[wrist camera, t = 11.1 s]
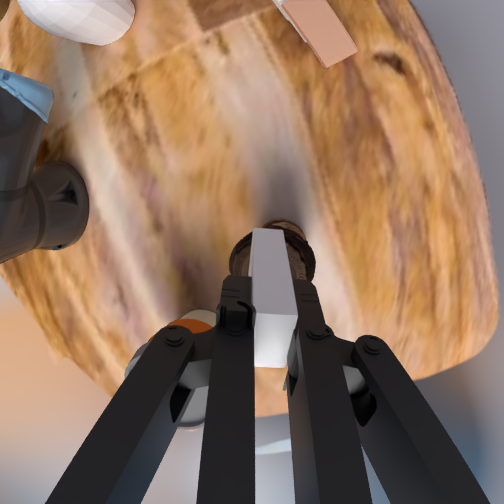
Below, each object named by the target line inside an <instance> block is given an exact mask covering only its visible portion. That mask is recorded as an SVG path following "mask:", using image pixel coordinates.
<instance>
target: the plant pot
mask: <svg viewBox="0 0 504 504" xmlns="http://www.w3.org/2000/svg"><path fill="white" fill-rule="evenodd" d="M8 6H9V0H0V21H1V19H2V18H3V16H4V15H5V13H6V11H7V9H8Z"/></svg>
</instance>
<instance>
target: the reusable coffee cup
mask: <svg viewBox="0 0 504 504" xmlns="http://www.w3.org/2000/svg"><path fill="white" fill-rule="evenodd" d="M215 324H216V314H215V313H213V312H211V311H208V310H194V311H190V312H189V313H187V314H185V315H184V316H183V317H182V318H180V319H179V320H175V321H173V322H171V323H169V324H168V325H167V326H171V325H179V326H183V327H186V328H188V329H189V330H190V331H191V332H192V333H193V334H194V333H201V332H205V331H207V330H210V329H211V328H213V327H214V326H215ZM165 327H166V326H165ZM155 335H156V334H155ZM155 335H154V336H155ZM154 336H153V337H152V338H150V339H149V341H148V342H147V343H146V344H144V345H142V346H141V347H140V348H139V349H138V350H137V351H136V353H135V355H134V356H133V358H132V359H131V361H130V362H129V364H128V366H127V368H126V371H125V379H126V377H127V376H128V374H129V373H130V371H131V370H132V368H133V367H134V365H135V364H136V362H137V361H138V359H139V358H140V356H141V355H142V354H143V352H144V351H145V349H146V348H147V346H148V345H149V343H150V342H151V341H152V339H153V338H154ZM207 395H208V386H206V387H200V388H196V390H195V392H194V394H193V396H192V399H191V401H190V403H189V405H188V407H187V409H186V411H185V413H184V415H183V417H182V419H181V421H180V423H179V426H178V429H187V430H188V429H197V428H200V427H203V426H204V422H205V413H206V404H207Z"/></svg>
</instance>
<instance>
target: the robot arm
mask: <svg viewBox="0 0 504 504" xmlns="http://www.w3.org/2000/svg"><path fill="white" fill-rule="evenodd" d="M53 100H54V94H53V90H52V89H51V88H50V87H49V86H47V85H45V84H43V83H40V82H37V81H35V80H32V79H29V78H27V77H24V76H21V75H18V74H16V73H13V72H10V71H7V70H4V69H1V68H0V264H1V263H3V262H5V261H8V260H10V259H12V258H14V257H17V256H19V255H21V254H23V253H26V252H28V251H30V250H33V249H43V250H61V249H64V248H66V247H69V246H71V245H73V244H74V243H76V242H77V241H78V240H79V239H80V237H81V236H82V234H83V232H84V230H85V228H86V225H87V221H88V213H89V203H88V195H87V191H86V187H85V185H84V182H83V180H82V178H81V176H80V175H79V173H78V172H77V171H76V170H75V169H74V168H73V167H72V166H71V165H69V164H68V163H66V162H63V161H51V162H45V163H42V164H40V165H39V166H37V167H36V168H34V164H35V160H36V156H37V152H38V149H39V145H40V142H41V138H42V135H43V132H44V128H45V125H46V124H48V121H49V120H48V116H49V113H50V110H51V107H52V103H53ZM33 168H34V169H33ZM287 361H288V372H287V375H286V379H285V383H284V386H283V390H284V391H286V387H287V396H288V408H289V420H290V434H291V447H292V461H293V474H294V490H295V504H372V498H371V493H370V488H369V482H368V477H367V472H366V467H365V462H364V457H363V453H362V448H361V445H362V447H363V449H364V451H365V452H366V455H367V456H368V458H369V461H370V463H371V465H372V466H373V468H374V471H375V473H376V475H377V477H378V479H379V481H380V483H381V485H382V487H383V489H384V491H385V492H386V495H387V497H388V499H389V501H390V503H391V504H490V502H489V501H488V499H487V497H486V495H485V494H484V492H483V490H482V488H481V487H480V485H479V483H478V482H477V480H476V478H475V477H474V475H473V473H472V472H471V470H470V468H469V467H468V465H467V464H466V462H465V460H464V459H463V457H462V455H461V454H460V452H459V451H458V449H457V447H456V446H455V444H454V443H453V441H452V439H451V438H450V436H449V435H448V433H447V432H446V430H445V429H444V427H443V426H442V424H441V423H440V421H439V419H438V418H437V416H436V415H435V413H434V412H433V410H432V409H431V407H430V406H429V404H428V403H427V401H426V400H425V398H424V397H423V395H422V394H421V392H420V391H419V389H418V388H417V386H416V385H415V384H414V382H413V381H412V379H411V378H410V376H409V375H408V373H407V372H406V371H405V369H404V368H403V366H402V365H401V363H400V362H399V361H398V359H397V358H396V356H395V355H394V353H393V352H392V351H391V349H390V348H389V346H388V345H387V344H386V343H385V342H384V341H383V340H382V339H380V338H378V337H376V336H372V335H363V336H361V337H359V338H358V339H357V340H356V342H351V341H347V340H343V339H341V338H338V337H336V336H335V335H334V333H333V331H332V329H331V328H330V327H329V326H328V325H326V324H325V320H324V316H323V312H322V309H321V305H320V303H319V297H318V294H317V290H316V287H315V286H314V285H313V284H312V282H311V281H310V280H302V279H292V277H291V272H290V266H289V260H288V255H287V250H286V244H285V239H284V234H283V230H276V229H265V228H253V235H252V245H251V254H250V264H249V276H238V275H228V276H227V277H226V278H225V280H224V281H223V285H222V292H221V300H220V304H218V306H217V309H216V324H215V326H214V327H213V328H211V329H210V330H207V331H205V332H201V333H194V334H193V333H192V332H191V331H190V330H189V329H188V328H186V327H183V326H179V325H171V326H166V327H164V328H162V329H160V330H159V331H158V332H157V333H156V335H155V336H154V338H153V339H152V341H151V342H150V343H149V345H148V346H147V348H146V349H145V351H144V352H143V354H142V355H141V356H140V358H139V359H138V361H137V362H136V364H135V365H134V367H133V368H132V370H131V371H130V373H129V374H128V376H127V377H126V379H125V380H124V381H123V383H122V384H121V386H120V387H119V389H118V390H117V392H116V393H115V395H114V396H113V398H112V399H111V401H110V403H109V404H108V405H107V407H106V409H105V410H104V411H103V413H102V415H101V416H100V418H99V419H98V421H97V422H96V424H95V425H94V427H93V428H92V430H91V431H90V433H89V435H88V436H87V437H86V439H85V441H84V442H83V444H82V445H81V447H80V448H79V450H78V451H77V453H76V455H75V456H74V458H73V459H72V461H71V463H70V464H69V466H68V467H67V469H66V471H65V472H64V474H63V475H62V477H61V478H60V480H59V482H58V483H57V485H56V487H55V488H54V490H53V491H52V493H51V495H50V496H49V498H48V500H47V501H46V503H45V504H141V502H142V500H143V498H144V496H145V494H146V492H147V489H148V487H149V485H150V483H151V481H152V479H153V477H154V475H155V473H156V471H157V469H158V467H159V465H160V463H161V461H162V459H163V457H164V455H165V452H166V450H167V448H168V446H169V444H170V442H171V440H172V438H173V436H174V434H175V432H176V430H177V428H178V426H179V423H180V421H181V419H182V417H183V415H184V413H185V411H186V409H187V407H188V405H189V403H190V401H191V399H192V396H193V394H194V392H195V390H196V388H200V387H206V386H208V395H207V404H206V413H205V422H204V431H203V441H202V450H201V460H200V470H199V481H198V491H197V502H196V504H255V373H254V367H274V368H285V367H286V363H287Z"/></svg>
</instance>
